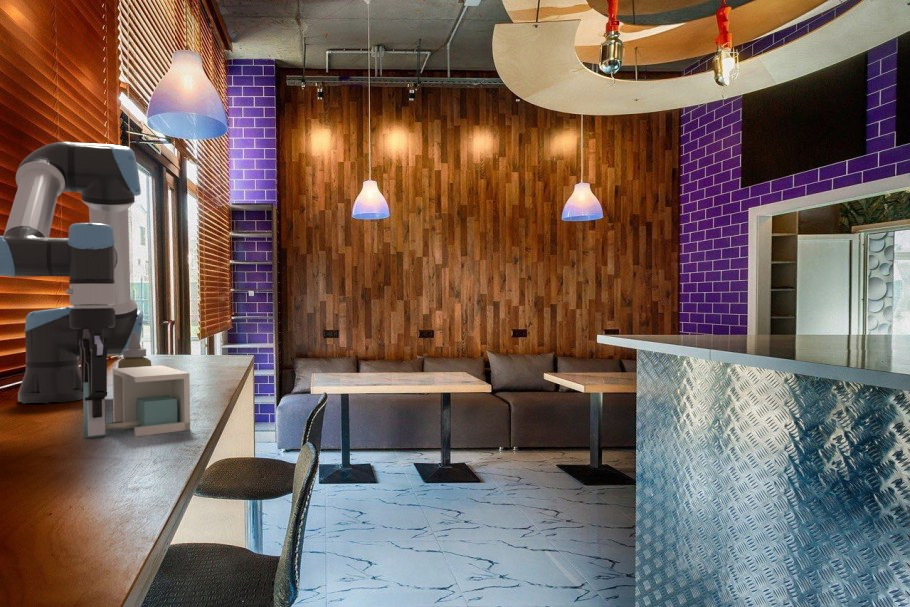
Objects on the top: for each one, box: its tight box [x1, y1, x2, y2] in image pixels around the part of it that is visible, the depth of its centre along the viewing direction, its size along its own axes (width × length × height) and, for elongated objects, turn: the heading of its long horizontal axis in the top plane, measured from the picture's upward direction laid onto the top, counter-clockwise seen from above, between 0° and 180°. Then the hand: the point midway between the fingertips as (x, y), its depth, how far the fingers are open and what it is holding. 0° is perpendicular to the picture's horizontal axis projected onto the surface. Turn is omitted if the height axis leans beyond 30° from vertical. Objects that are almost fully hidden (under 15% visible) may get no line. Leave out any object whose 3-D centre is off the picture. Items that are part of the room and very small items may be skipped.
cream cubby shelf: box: [112, 364, 191, 437], centre depth 139 cm, size 19×10×11 cm, turn 37°
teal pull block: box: [83, 382, 177, 439], centre depth 133 cm, size 6×16×10 cm, turn 128°
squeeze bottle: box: [117, 333, 152, 368], centre depth 152 cm, size 8×8×18 cm
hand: (94, 433), depth 129 cm, fingers closed on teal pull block, 3 cm apart
